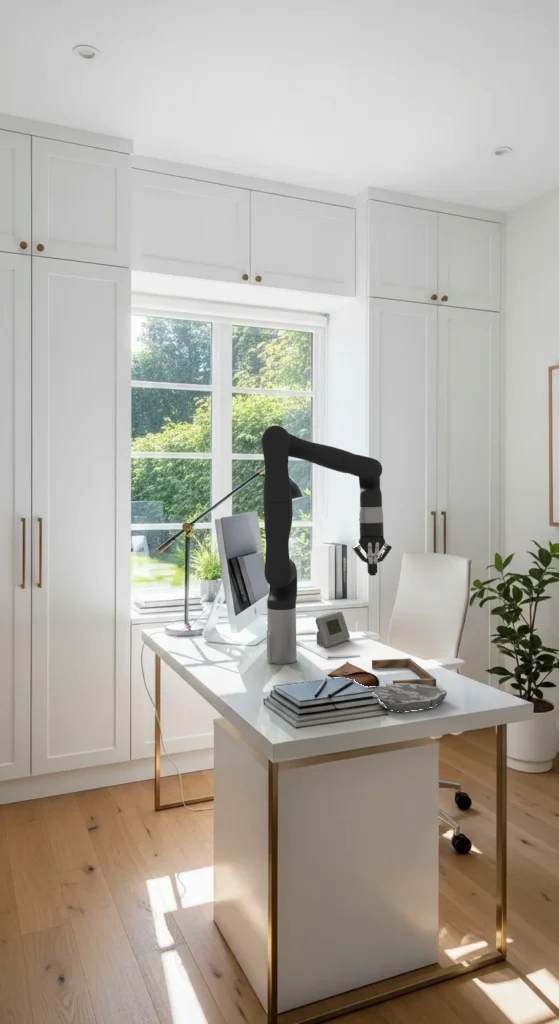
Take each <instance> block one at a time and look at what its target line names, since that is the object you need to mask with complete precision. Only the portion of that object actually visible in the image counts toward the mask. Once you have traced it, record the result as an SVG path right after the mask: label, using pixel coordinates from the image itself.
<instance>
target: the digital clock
mask: <svg viewBox="0 0 559 1024" xmlns="http://www.w3.org/2000/svg"><path fill="white" fill-rule="evenodd" d="M315 624H316V627H317V632H316V645H317V644H321V645H320V646H323V647H324V648H326V647H327V648H331V646H332V647H335V646H338V645H341V644H342V643H345V642H346V641H347V642H348V641H349V640H350V638H351V637H350V635H351V634H350V632H349V630H348V626H347V623H346V620H345V617H344V614H343V612H342V611H341V610H337V611H332V612H329V613H325V614H322V615H320V616H317V617H316V618H315Z"/></svg>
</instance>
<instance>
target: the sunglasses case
mask: <svg viewBox="0 0 559 1024" xmlns="http://www.w3.org/2000/svg"><path fill="white" fill-rule="evenodd" d="M327 675H328V676H327V677H329V676H330V677H329V678H331V677H345V678H349V679H355V681H356V682H358V683H359V684H362V685H364V686H368V687H369V686H379V687H380V679H379V678H378V677H377V676H376V675H375V674H373V673H372V672H368V671H366V670H365V669H363V668H361V667H358V666H356V665H354V664H352V663H350V662H348V661H346V662H345V663H344V664H342V665H341V666H339V667H337V668H336V669H334V670H332V671H331V672H330V673H328V674H327Z"/></svg>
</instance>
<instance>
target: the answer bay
mask: <svg viewBox="0 0 559 1024" xmlns="http://www.w3.org/2000/svg"><path fill="white" fill-rule="evenodd" d="M372 668H383V669H398V668H399V669H401V668H404V669H405V668H408V669H409V670H410V671H412V672H413V673H414V674H415V675H416V676H417V677H419V678H415V679H413V678H412V679H411V678H410V679H395V680H392V683H393V684H394V683H410V684H422V685H430V686H435V687H437V678H435V677H434V676H433V675H431V674H430V673H429V672H428V671H426V670H425V669H424V668H423V667H421V666H420V665H418V663H416V662H415V661H414V660H412V659H411V658H407V657H406V658H392V659H391V658H388V659H387V658H386V659H385V658H384V659H372V660H371V669H372Z"/></svg>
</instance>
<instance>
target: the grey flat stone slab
mask: <svg viewBox="0 0 559 1024" xmlns="http://www.w3.org/2000/svg"><path fill="white" fill-rule="evenodd" d="M373 692H374V693H375V694H376V695H377V696H378V697H379V699H380V701H381V702H383V703H384V704H385V706H386V707H387V708H389V709H390V710H393V711H399V712H405V711H411V710H419V709H426V710H428V709H427V708H429V707H434V706H435V705H436V704H438V705H440V704H441V703H442V702H444V700H445V698H446V696H447V694H448V691H447V690H446V689H443V688H442V687H441V688H440V687H437V686H436V687H435V686H430V685H422V684H410V683H394V684H393V682H392V683H386V684H385V686H379V687H373V690H372V693H373ZM374 693H373V694H374ZM375 694H374V695H375ZM439 703H440V704H439ZM435 707H436V706H435ZM435 707H434V708H435ZM389 709H388V710H389ZM390 710H389V711H390Z"/></svg>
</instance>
